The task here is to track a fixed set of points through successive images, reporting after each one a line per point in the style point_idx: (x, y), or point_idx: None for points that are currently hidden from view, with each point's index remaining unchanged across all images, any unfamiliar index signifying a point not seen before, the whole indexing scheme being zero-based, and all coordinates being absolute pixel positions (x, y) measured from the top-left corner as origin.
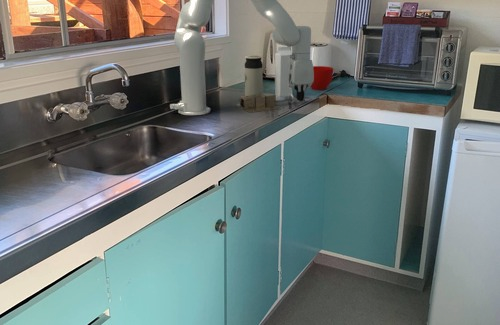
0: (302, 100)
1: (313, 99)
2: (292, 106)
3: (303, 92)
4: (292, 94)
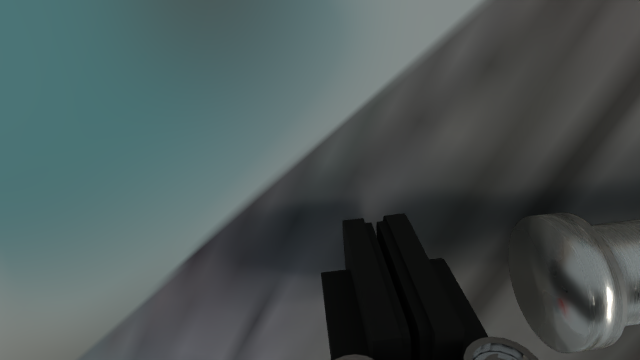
0: (360, 225)
1: (109, 343)
2: (620, 50)
3: (381, 322)
4: (606, 308)
